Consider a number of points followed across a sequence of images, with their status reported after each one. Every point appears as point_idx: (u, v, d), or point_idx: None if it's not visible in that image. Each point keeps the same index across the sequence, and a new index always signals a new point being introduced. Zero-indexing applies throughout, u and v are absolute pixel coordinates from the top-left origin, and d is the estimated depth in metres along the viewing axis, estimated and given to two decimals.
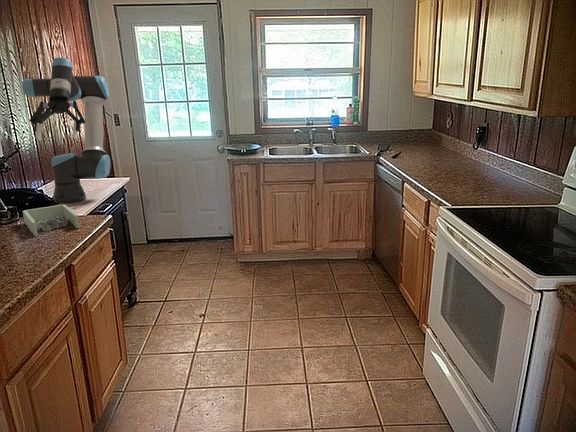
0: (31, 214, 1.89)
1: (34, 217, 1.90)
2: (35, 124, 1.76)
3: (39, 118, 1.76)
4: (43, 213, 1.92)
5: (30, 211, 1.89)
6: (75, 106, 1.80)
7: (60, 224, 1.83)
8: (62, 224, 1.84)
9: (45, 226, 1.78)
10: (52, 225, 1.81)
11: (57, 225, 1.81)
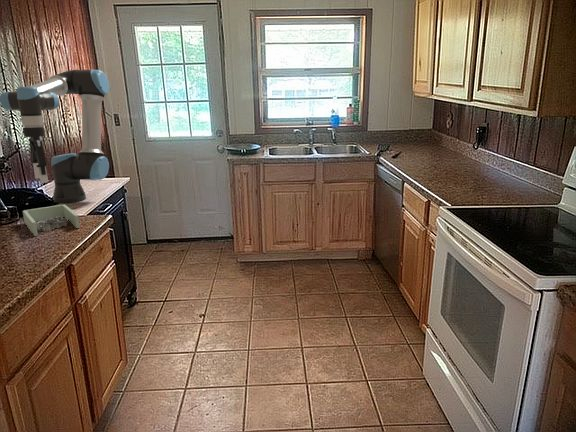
0: (31, 214, 1.89)
1: (34, 217, 1.90)
2: None
3: (32, 158, 1.87)
4: (43, 213, 1.92)
5: (30, 211, 1.89)
6: (36, 148, 1.77)
7: (60, 224, 1.84)
8: (62, 224, 1.84)
9: (45, 226, 1.78)
10: (52, 225, 1.81)
11: (57, 225, 1.81)
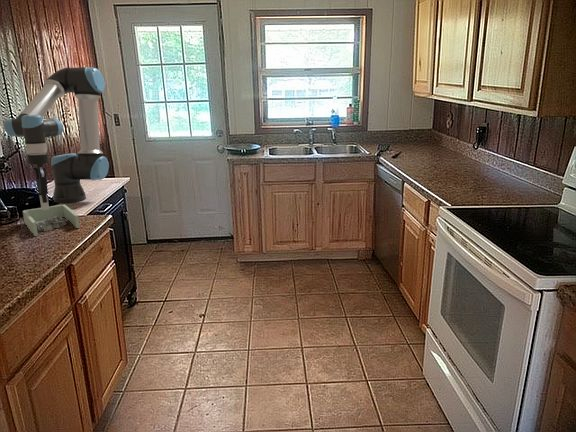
0: (31, 214, 1.89)
1: (34, 217, 1.90)
2: None
3: (38, 188, 1.87)
4: (43, 213, 1.92)
5: (30, 211, 1.89)
6: (39, 178, 1.81)
7: (59, 224, 1.84)
8: (61, 224, 1.85)
9: (46, 226, 1.78)
10: (52, 225, 1.81)
11: (57, 224, 1.82)
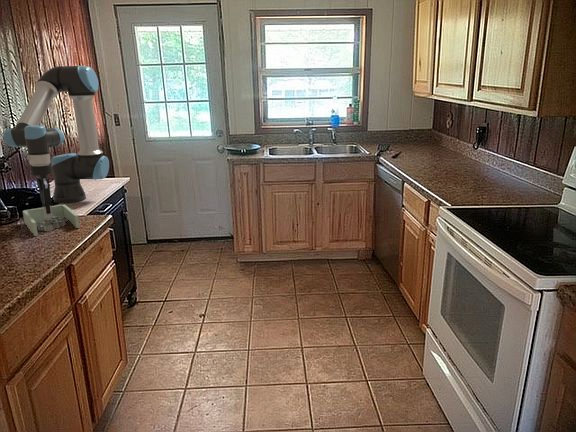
0: (31, 214, 1.89)
1: (34, 217, 1.90)
2: None
3: (42, 199, 1.85)
4: (43, 213, 1.92)
5: (30, 211, 1.89)
6: (43, 189, 1.79)
7: (59, 223, 1.84)
8: (61, 223, 1.84)
9: (47, 226, 1.78)
10: (52, 225, 1.81)
11: (57, 224, 1.82)
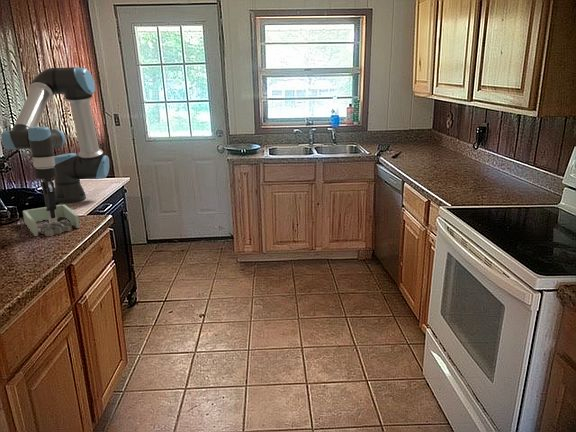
0: (31, 214, 1.89)
1: (34, 217, 1.90)
2: None
3: (46, 203, 1.78)
4: (43, 213, 1.92)
5: (30, 211, 1.89)
6: (47, 193, 1.72)
7: (64, 228, 1.77)
8: (66, 228, 1.77)
9: (47, 230, 1.72)
10: (55, 229, 1.74)
11: (60, 229, 1.75)
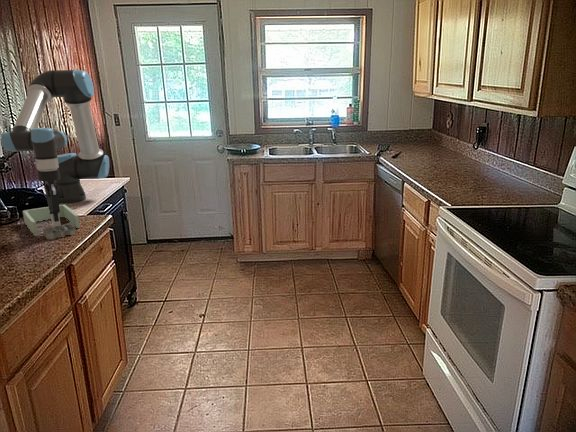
0: (31, 214, 1.89)
1: (34, 217, 1.90)
2: None
3: (49, 206, 1.74)
4: (43, 213, 1.92)
5: (30, 211, 1.89)
6: (51, 196, 1.68)
7: (66, 232, 1.73)
8: (68, 232, 1.73)
9: (48, 233, 1.68)
10: (56, 233, 1.70)
11: (61, 233, 1.71)
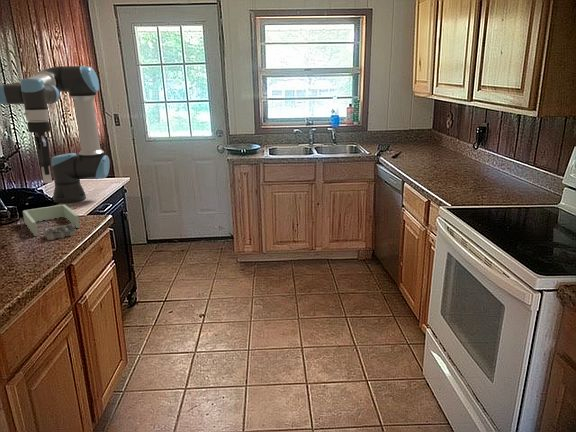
0: (31, 214, 1.89)
1: (34, 217, 1.90)
2: None
3: (40, 159, 1.73)
4: (43, 213, 1.92)
5: (30, 211, 1.89)
6: (41, 147, 1.67)
7: (66, 233, 1.72)
8: (68, 233, 1.72)
9: (48, 234, 1.68)
10: (56, 233, 1.70)
11: (61, 234, 1.70)
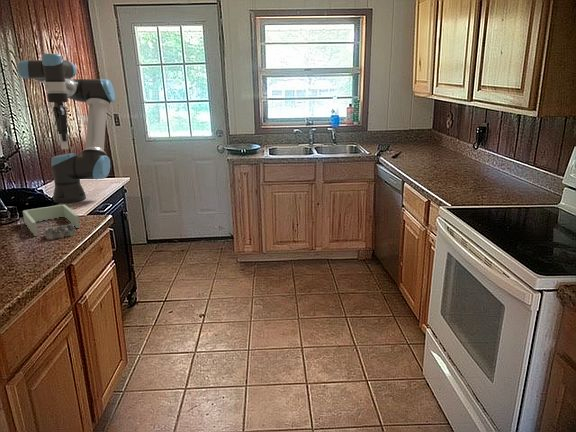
0: (31, 214, 1.89)
1: (34, 217, 1.90)
2: None
3: (58, 127, 1.93)
4: (43, 213, 1.92)
5: (30, 211, 1.89)
6: (59, 116, 1.87)
7: (66, 233, 1.72)
8: (68, 233, 1.72)
9: (47, 234, 1.68)
10: (56, 233, 1.70)
11: (60, 234, 1.70)
